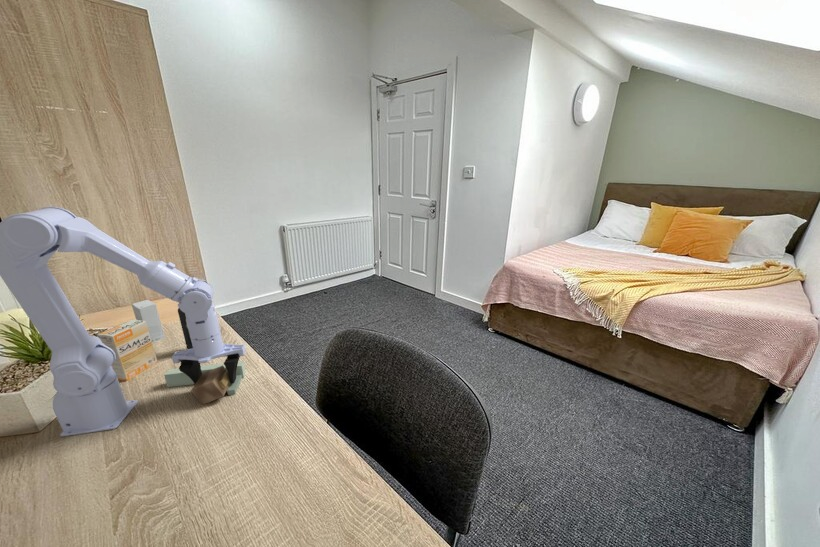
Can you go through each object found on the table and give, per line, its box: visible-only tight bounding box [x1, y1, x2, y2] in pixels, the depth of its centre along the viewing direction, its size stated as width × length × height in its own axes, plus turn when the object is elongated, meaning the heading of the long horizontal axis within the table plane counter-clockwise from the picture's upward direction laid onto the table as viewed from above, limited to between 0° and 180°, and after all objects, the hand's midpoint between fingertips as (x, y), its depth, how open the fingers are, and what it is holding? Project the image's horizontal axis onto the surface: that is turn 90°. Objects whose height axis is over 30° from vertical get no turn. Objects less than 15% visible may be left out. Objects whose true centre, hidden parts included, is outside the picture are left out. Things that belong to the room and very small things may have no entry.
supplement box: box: [96, 319, 159, 382], centre depth 78 cm, size 8×5×13 cm, turn 168°
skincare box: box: [131, 299, 166, 344], centre depth 93 cm, size 6×4×12 cm
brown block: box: [190, 366, 230, 405], centre depth 72 cm, size 4×6×6 cm
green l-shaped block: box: [163, 360, 247, 396], centre depth 74 cm, size 17×8×4 cm, turn 103°
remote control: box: [177, 307, 193, 350], centre depth 87 cm, size 5×2×15 cm, turn 149°
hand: (217, 382), depth 74 cm, fingers closed on brown block, 6 cm apart
